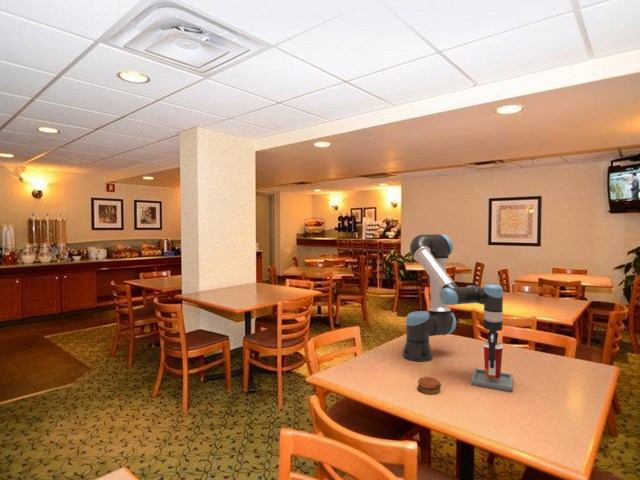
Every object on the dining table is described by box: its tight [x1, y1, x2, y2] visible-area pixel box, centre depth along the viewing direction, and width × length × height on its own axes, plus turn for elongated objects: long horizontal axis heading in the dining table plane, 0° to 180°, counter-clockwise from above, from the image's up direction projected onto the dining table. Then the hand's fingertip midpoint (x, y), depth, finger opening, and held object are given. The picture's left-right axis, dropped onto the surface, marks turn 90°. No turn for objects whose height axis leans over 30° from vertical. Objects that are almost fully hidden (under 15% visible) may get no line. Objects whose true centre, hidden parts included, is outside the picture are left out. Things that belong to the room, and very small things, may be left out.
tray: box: [470, 368, 514, 393], centre depth 168 cm, size 16×16×2 cm
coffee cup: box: [482, 340, 504, 379], centre depth 168 cm, size 8×8×15 cm
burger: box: [417, 376, 442, 395], centre depth 160 cm, size 10×9×5 cm
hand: (492, 371), depth 168 cm, fingers closed on coffee cup, 7 cm apart
